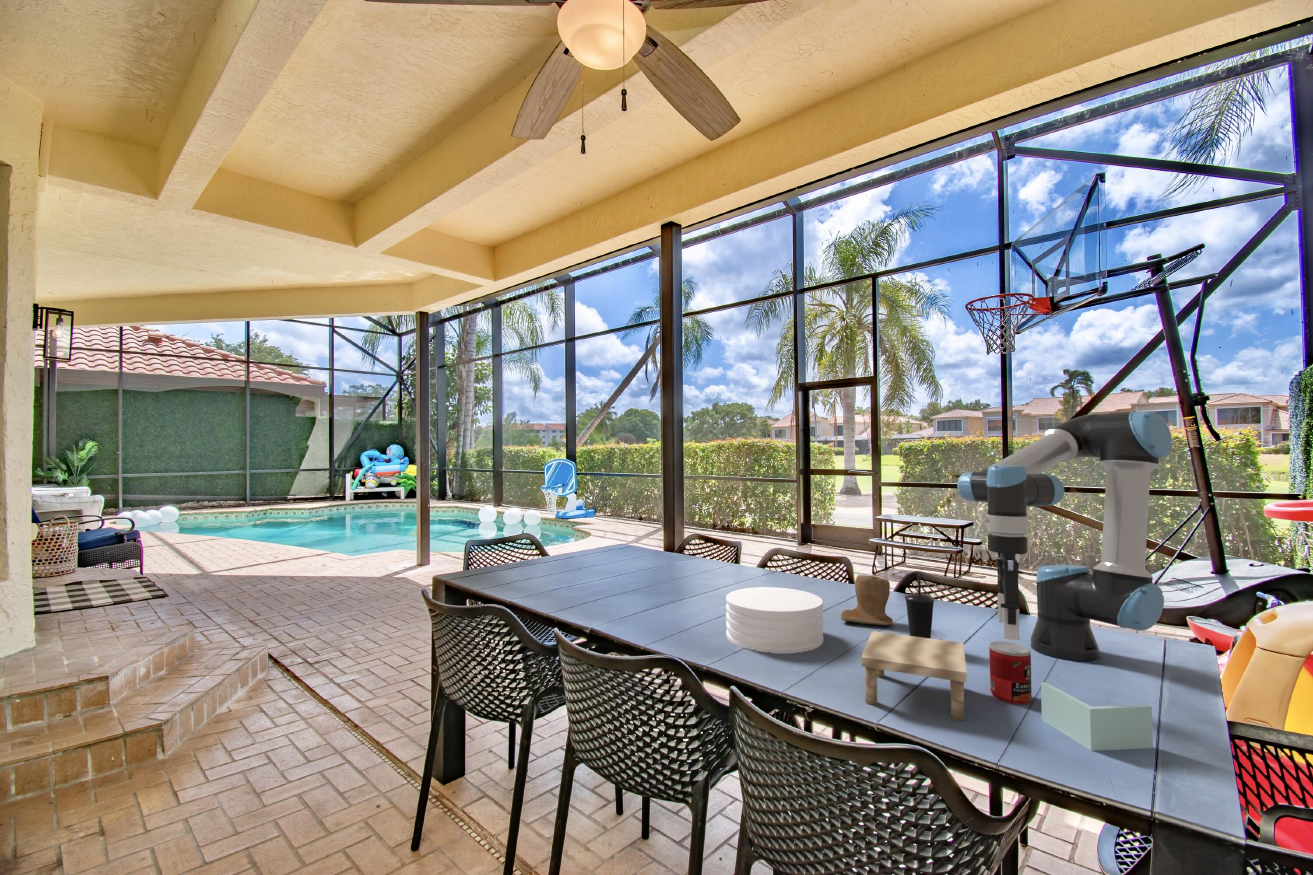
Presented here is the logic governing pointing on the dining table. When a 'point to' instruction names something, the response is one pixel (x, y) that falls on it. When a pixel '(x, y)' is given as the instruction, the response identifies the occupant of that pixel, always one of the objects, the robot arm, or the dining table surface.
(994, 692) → the canned food
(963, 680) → the footstool
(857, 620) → the brown suede boots
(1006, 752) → the dining table surface
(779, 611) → the plate stack
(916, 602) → the drinking cup
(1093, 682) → the dining table surface
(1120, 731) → the right angle wall
